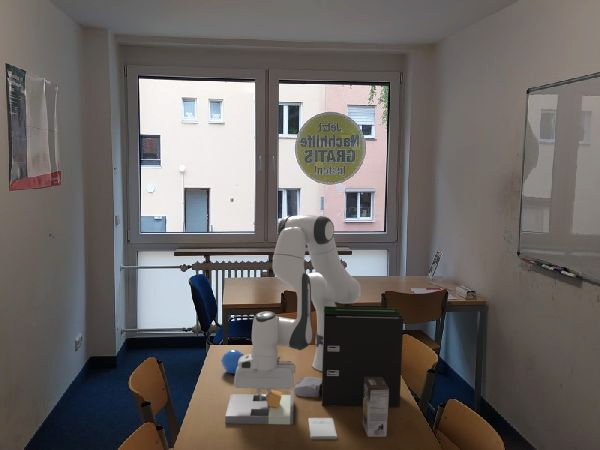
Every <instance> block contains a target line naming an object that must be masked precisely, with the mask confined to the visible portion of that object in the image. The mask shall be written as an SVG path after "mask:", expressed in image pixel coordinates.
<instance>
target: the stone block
mask: <svg viewBox="0 0 600 450" xmlns="http://www.w3.org/2000/svg"><path fill="white" fill-rule="evenodd" d="M294 392H295V393H294V394H296V395H297V397H298V396H299V397H304V398H306V397H309V398H310V397H312V398H319V396H320V393H322V378H320V377H317V376H316V377H315V376H304V377H301V378H299V379H298V380H297V382H296V383H295V384H294Z"/></svg>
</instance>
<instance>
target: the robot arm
mask: <svg viewBox="0 0 600 450" xmlns="http://www.w3.org/2000/svg"><path fill="white" fill-rule="evenodd" d="M277 234H278V239H277V241H276V245H275V248H274V252H273V259H272V266H271V267H272V270H273V273H274V275H275V276H276V277H277V279H278V280H280V281H281V282H283V284H286V285H288V286H290V287H291V289H293V290H294V292H296V297H297V304H296V305H297V310H296V313H297V316H296V319H294V318H288V317H283V316H277V314H276V313H275V312H273V311H270V310H269V311H266V310H265V311H261V312H258V313H256V314H255V315H254V317H253V319H252V327H251V328H252V329H251V343H252V348H251V353H248V354H243V355H244V356H241V357H240V358H239V361H238V367H237V369H236V373H235V374H234V378H233V386H234V387H235V388H236V389H256V394H257V395H259V396H260V401H268V395H269V394H270V392H271V390H293V388H295V380H294V378H295V377H294V374H295V373H296V365H295V364H294V362H291V361H288V360H287V361H284V360H279V359H278V354H279V351H278V346H280V347H287V348H290V349H293V350H294V349H295V350H298V351H302V350H304V349H306V348H307V347H308V346H310V344H312V341H313V334H314V333H313V324H312V322H313V321H312V304H313V306H314V308H315V312H316V323H317V324H316V333H315V354H314V358H313V361H312V365H311V366H312V367H313V368H314V369H315V370H316V371H320V372H322V363H323V323H324V306H332V307H337V305H336V303H339V304H355V303H356V302H357V301H358V300H359V298H360V297H361V294H362V293H361V292H362V287H361V284H360V282H359V280H357V279H356V278H354V277H353V276H352V275H351V274H350V272H348V270H347V269H346V267H344V265H343V264H342V262H341V259H340V257H339V253H338V249H337V244H336V241H335V240H336V239H335V237H334V234H335V225H334V223H333V221H332V219H331V218H329V217H327V216H323V215H319V216H318V215H312V214H304V215H287V216H283V217H282V218H281V220H280V221H279V223H278V224H277ZM306 245H307V247H306ZM306 248H307V250H308V254H309V257H310V261H311V262H310V263H311V265H312V267H313V269H314V270H315V272H309V273H307V272H306V271H305V259H306V258H305V257H306ZM262 389H264V390H266V393H262V392H261V391H262Z"/></svg>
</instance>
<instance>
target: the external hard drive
mask: <svg viewBox="0 0 600 450" xmlns="http://www.w3.org/2000/svg"><path fill="white" fill-rule="evenodd" d="M307 421H308V428H309V436H310V440H338V434H337V431H336V430H337V429H336V425H335V421H334V418H332V417H309V418H308V420H307Z"/></svg>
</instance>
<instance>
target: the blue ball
mask: <svg viewBox="0 0 600 450" xmlns="http://www.w3.org/2000/svg"><path fill="white" fill-rule="evenodd" d="M244 355H245V354H244V353H243V352H241V351H239V350H229V351H227V352H225V353H224V354H223V356H222V359H221V365H222V367H223V369H224V370H225V372H227V373H229V374H232V375H233V374H234V375H235V373H236V369H237V367H238V361H239V358H240V357H241V356H244Z"/></svg>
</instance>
